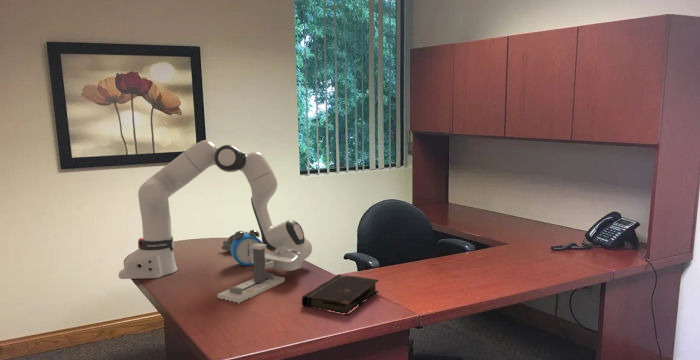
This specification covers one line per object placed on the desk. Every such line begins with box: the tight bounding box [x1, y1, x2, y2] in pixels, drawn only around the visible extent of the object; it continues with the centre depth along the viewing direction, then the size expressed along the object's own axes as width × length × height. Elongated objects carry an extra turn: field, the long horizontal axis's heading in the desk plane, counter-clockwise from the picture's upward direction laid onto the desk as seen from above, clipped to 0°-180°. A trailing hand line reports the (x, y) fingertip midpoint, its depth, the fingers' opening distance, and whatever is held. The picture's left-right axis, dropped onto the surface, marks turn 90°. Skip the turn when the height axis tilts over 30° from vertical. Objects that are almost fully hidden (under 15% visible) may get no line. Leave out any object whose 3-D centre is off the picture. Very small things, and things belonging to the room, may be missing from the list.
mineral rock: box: [221, 230, 250, 252], centre depth 236 cm, size 13×11×10 cm
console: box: [217, 272, 286, 304], centre depth 184 cm, size 26×10×4 cm, turn 150°
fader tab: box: [251, 243, 267, 283], centre depth 187 cm, size 4×4×14 cm
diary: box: [301, 274, 380, 316], centre depth 175 cm, size 19×25×5 cm
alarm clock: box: [230, 229, 263, 267], centre depth 214 cm, size 13×6×15 cm, turn 116°
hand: (261, 266), depth 189 cm, fingers closed, pressing on fader tab
